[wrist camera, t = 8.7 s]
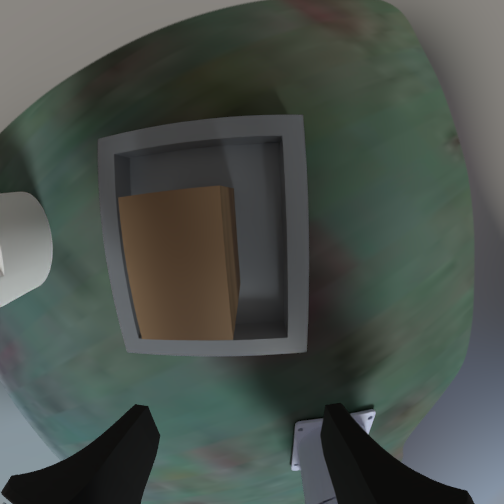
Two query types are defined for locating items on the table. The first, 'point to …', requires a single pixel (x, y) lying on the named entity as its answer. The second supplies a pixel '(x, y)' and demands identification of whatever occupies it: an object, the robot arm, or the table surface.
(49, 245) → the cylinder with rectangular tab
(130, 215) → the walnut block
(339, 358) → the table surface
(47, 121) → the table surface
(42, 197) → the table surface
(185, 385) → the table surface
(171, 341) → the tray
